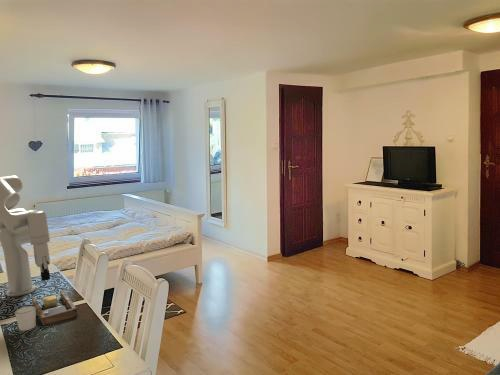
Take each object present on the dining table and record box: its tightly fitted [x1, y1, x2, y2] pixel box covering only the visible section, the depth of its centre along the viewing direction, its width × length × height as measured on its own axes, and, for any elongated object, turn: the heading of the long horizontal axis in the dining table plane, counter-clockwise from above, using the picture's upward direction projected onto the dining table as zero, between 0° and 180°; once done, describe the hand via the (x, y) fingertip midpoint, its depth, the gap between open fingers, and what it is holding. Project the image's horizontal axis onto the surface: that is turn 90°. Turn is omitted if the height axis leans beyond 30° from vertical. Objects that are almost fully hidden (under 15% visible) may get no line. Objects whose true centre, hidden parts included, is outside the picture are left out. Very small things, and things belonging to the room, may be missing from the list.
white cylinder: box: [14, 305, 37, 332], centre depth 153 cm, size 7×7×7 cm
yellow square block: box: [42, 294, 59, 308], centre depth 174 cm, size 5×5×3 cm
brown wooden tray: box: [31, 289, 78, 326], centre depth 168 cm, size 26×12×3 cm, turn 36°
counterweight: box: [47, 305, 67, 315], centre depth 161 cm, size 6×6×3 cm
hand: (46, 279), depth 179 cm, fingers closed
